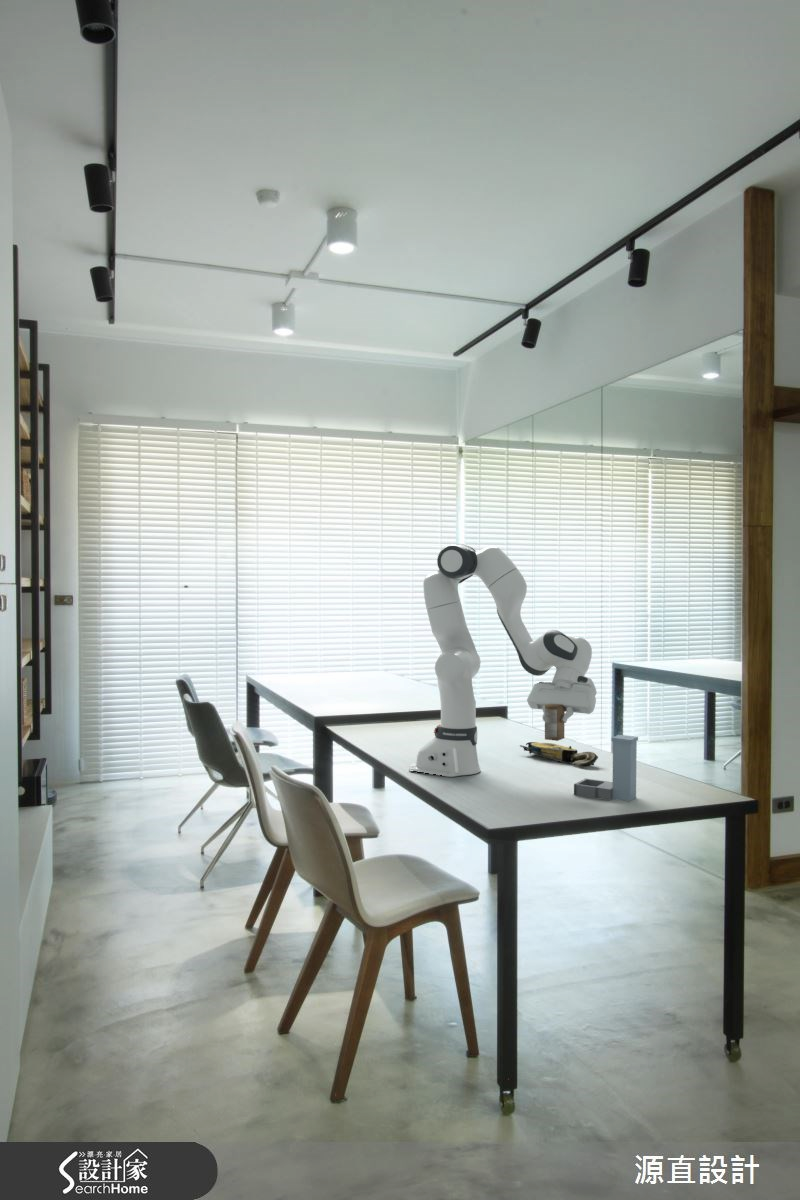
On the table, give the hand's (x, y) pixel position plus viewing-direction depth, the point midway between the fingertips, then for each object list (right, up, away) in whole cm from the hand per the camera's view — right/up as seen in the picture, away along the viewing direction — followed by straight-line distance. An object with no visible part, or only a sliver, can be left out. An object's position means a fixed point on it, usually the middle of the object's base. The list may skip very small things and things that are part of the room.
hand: (553, 720), depth 246 cm
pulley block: (+9, -19, +37) cm, 43 cm away
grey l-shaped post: (+13, -20, -10) cm, 25 cm away
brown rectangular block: (0, -5, +1) cm, 5 cm away
